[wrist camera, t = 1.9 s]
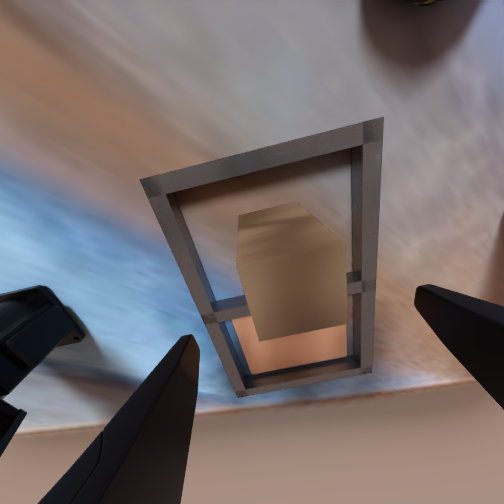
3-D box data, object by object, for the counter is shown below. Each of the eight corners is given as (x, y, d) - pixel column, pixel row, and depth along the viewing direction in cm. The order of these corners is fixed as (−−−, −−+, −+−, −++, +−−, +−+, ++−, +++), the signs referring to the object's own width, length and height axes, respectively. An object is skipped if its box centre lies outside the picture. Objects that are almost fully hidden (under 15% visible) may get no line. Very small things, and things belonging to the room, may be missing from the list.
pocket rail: (237, 384, 24) (237, 397, 23) (149, 177, 14) (139, 179, 13) (364, 360, 24) (371, 372, 22) (369, 120, 13) (383, 116, 12)
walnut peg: (252, 265, 17) (259, 341, 10) (238, 215, 16) (236, 267, 8) (303, 253, 17) (347, 324, 10) (296, 201, 15) (345, 242, 8)
